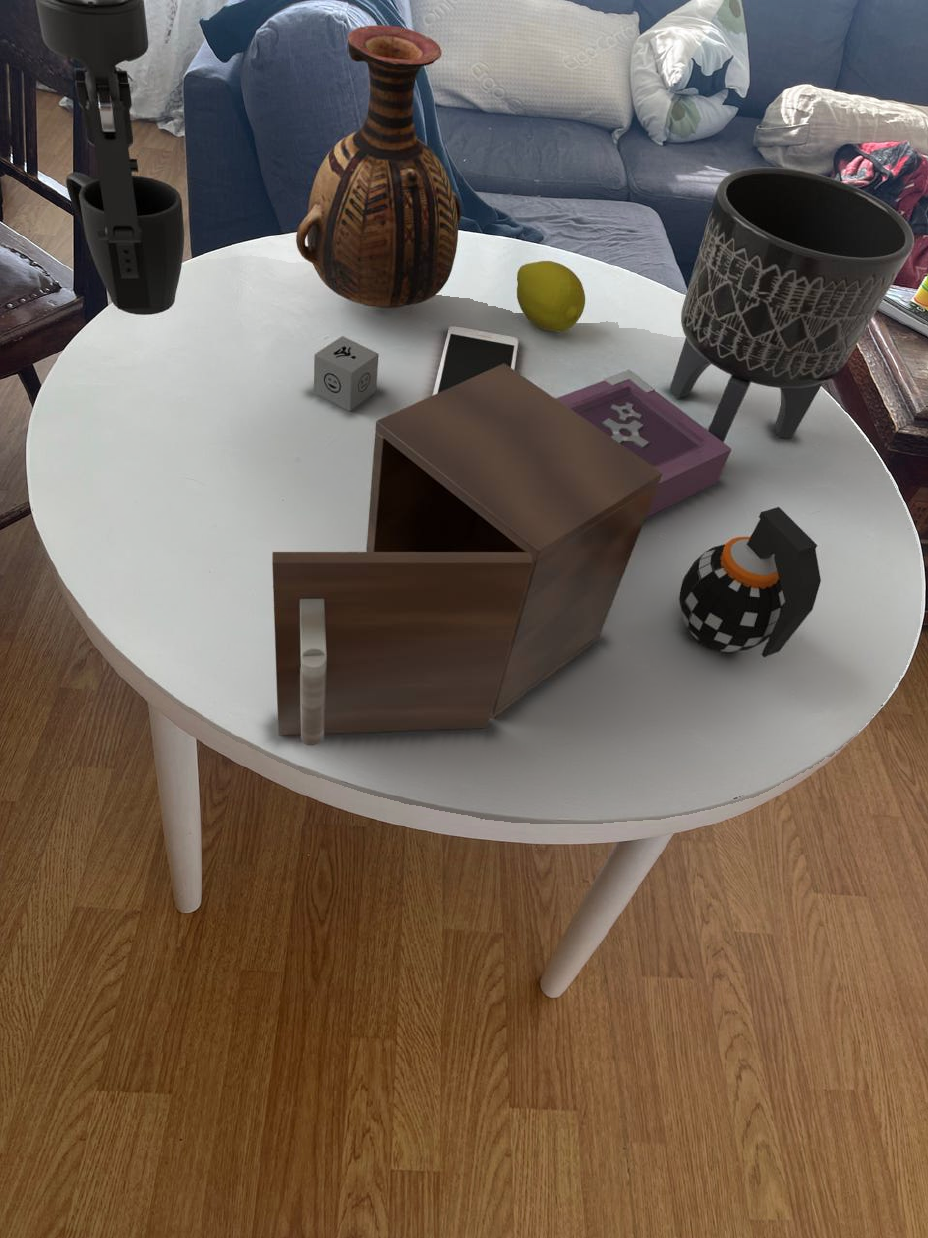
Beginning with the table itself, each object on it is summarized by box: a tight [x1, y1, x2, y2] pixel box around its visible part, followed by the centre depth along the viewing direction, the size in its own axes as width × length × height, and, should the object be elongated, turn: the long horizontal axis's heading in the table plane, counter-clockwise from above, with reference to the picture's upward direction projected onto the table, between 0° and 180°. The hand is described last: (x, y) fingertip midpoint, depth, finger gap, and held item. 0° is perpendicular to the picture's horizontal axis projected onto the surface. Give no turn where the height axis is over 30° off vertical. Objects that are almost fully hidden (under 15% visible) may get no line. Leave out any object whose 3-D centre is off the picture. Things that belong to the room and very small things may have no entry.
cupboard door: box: [271, 551, 533, 746], centre depth 64 cm, size 7×17×20 cm, turn 98°
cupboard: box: [365, 364, 663, 719], centre depth 75 cm, size 14×17×20 cm
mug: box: [65, 172, 185, 316], centre depth 80 cm, size 8×12×10 cm
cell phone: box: [432, 325, 519, 396], centre depth 107 cm, size 9×18×1 cm, turn 173°
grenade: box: [678, 506, 822, 658], centre depth 80 cm, size 11×10×15 cm
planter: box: [668, 166, 915, 443], centre depth 98 cm, size 20×20×26 cm
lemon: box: [516, 260, 586, 333], centre depth 115 cm, size 11×8×8 cm
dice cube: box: [313, 335, 380, 412], centre depth 101 cm, size 5×5×5 cm
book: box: [555, 369, 733, 519], centre depth 97 cm, size 25×16×5 cm, turn 128°
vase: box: [295, 24, 462, 309], centre depth 104 cm, size 21×18×30 cm
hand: (130, 275), depth 82 cm, fingers closed on mug, 10 cm apart
